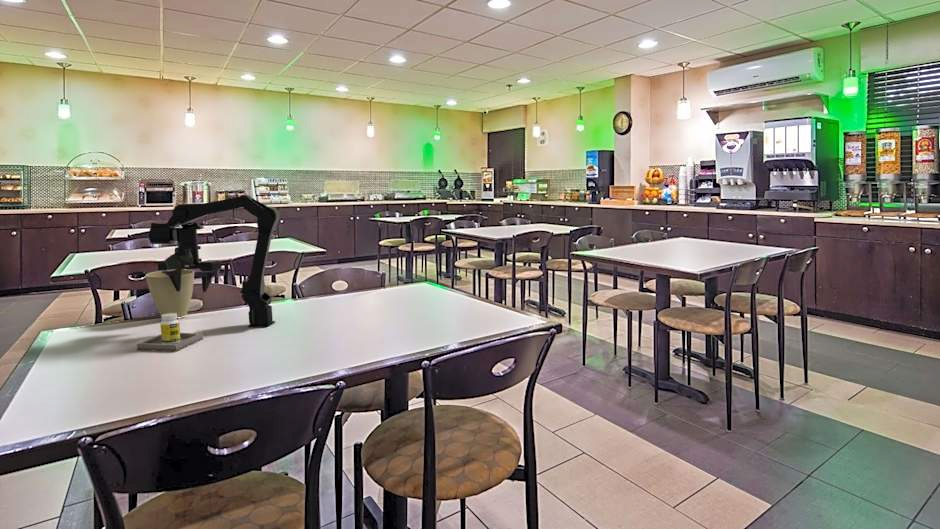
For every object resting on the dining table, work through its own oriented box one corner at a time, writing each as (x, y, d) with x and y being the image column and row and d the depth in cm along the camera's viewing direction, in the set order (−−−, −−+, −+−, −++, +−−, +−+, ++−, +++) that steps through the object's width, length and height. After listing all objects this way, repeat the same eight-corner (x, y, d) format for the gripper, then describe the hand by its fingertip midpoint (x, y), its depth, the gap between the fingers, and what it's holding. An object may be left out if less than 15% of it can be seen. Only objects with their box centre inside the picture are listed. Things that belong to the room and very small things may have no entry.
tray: (203, 339, 161) (202, 333, 161) (176, 351, 149) (175, 345, 149) (166, 338, 162) (166, 332, 162) (137, 350, 151) (136, 343, 150)
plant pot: (143, 318, 187) (138, 273, 185) (187, 310, 198) (184, 268, 196) (159, 325, 178) (155, 278, 175) (205, 316, 189) (201, 272, 186)
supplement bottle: (172, 345, 153) (169, 316, 152) (158, 344, 154) (155, 315, 153) (184, 340, 158) (182, 312, 156) (170, 339, 159) (168, 312, 157)
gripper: (142, 246, 163) (147, 296, 166) (198, 246, 161) (202, 297, 163) (167, 242, 174) (171, 289, 177) (220, 243, 172) (224, 290, 174)
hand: (191, 291), depth 172 cm, fingers open, 9 cm apart
